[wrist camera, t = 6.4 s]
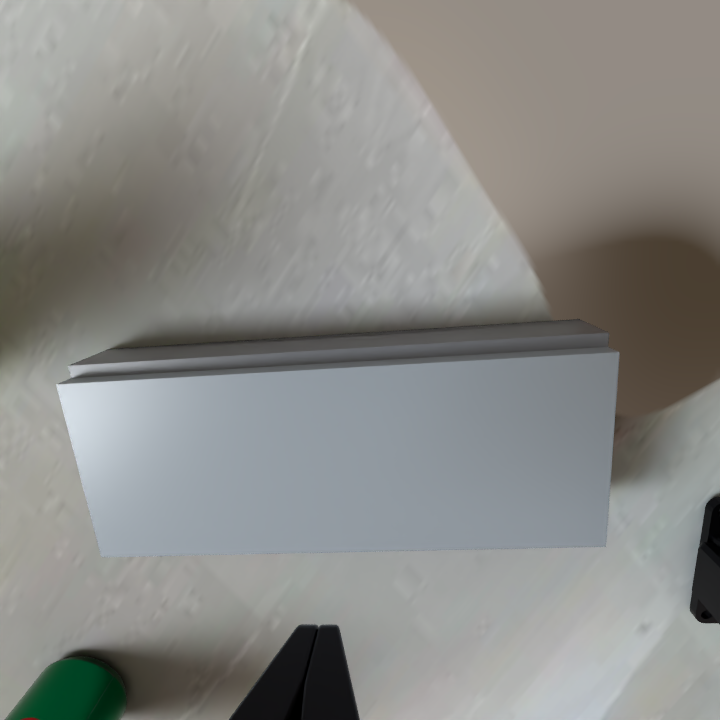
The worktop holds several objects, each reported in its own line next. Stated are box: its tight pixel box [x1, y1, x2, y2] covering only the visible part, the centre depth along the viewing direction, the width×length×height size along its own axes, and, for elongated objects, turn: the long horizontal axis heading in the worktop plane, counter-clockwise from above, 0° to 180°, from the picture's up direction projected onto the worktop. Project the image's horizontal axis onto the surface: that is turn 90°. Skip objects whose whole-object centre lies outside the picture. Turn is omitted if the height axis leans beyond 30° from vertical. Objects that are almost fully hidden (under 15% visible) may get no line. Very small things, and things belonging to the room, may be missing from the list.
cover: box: [56, 347, 619, 557], centre depth 17 cm, size 20×8×1 cm, turn 95°
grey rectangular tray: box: [68, 319, 609, 378], centre depth 18 cm, size 20×8×2 cm, turn 95°
